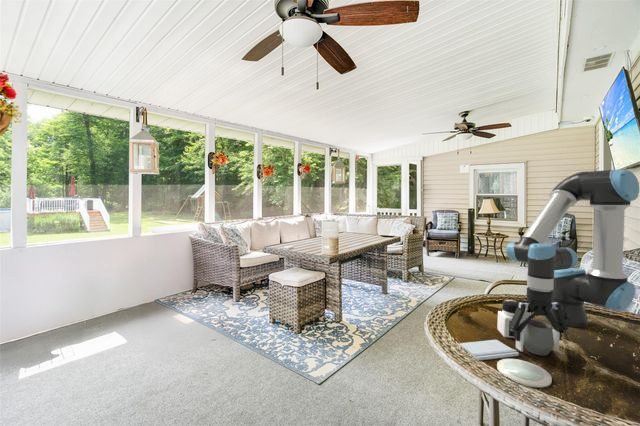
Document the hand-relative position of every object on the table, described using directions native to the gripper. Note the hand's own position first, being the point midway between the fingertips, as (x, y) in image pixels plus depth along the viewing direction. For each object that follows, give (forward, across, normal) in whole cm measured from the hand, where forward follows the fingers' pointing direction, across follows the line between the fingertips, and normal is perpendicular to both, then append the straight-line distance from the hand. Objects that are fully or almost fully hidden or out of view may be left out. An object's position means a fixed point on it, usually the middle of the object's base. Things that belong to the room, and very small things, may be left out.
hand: (537, 349), depth 109 cm
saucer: (+1, +14, +13) cm, 19 cm away
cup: (+1, 0, 0) cm, 1 cm away
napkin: (+1, +17, -1) cm, 17 cm away
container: (+1, 0, -14) cm, 14 cm away
